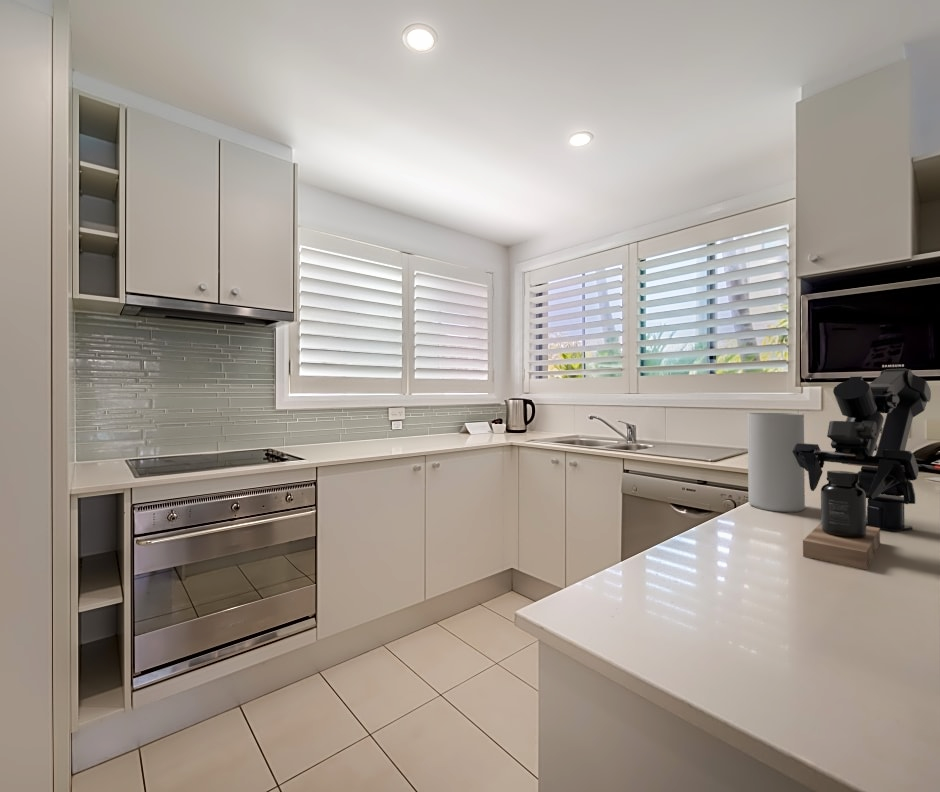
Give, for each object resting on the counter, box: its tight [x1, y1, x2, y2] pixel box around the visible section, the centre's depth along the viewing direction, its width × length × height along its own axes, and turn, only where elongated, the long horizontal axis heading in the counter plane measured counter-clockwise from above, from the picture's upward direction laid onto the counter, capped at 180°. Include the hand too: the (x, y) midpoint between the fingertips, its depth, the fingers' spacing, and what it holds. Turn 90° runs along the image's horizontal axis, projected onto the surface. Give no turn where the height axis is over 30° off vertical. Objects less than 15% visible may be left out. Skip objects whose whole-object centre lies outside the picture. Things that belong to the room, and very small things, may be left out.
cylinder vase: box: [747, 412, 806, 513], centre depth 122 cm, size 12×12×25 cm
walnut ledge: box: [802, 522, 881, 570], centre depth 88 cm, size 20×9×3 cm, turn 133°
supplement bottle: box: [820, 470, 867, 538], centre depth 88 cm, size 7×7×12 cm
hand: (839, 493), depth 88 cm, fingers open, 9 cm apart
